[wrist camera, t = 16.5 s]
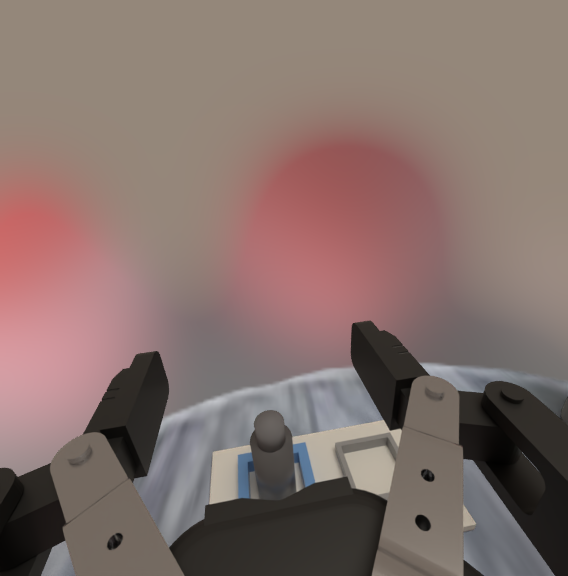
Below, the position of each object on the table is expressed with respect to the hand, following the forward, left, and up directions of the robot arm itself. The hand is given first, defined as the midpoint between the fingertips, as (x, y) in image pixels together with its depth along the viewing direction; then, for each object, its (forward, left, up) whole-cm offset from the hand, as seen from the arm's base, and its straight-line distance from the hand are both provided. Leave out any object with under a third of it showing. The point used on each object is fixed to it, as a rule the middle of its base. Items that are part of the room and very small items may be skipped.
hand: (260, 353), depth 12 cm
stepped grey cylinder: (-9, -7, -29) cm, 31 cm away
